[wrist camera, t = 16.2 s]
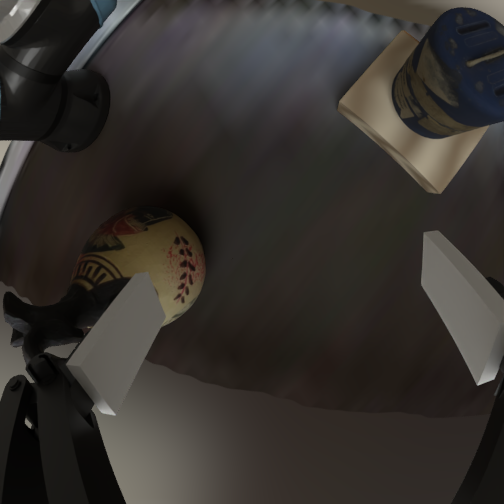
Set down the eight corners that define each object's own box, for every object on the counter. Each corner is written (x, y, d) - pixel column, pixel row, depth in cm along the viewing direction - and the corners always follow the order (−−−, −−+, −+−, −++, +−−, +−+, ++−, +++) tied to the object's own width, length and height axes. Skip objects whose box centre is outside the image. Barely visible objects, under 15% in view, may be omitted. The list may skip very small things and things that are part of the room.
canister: (377, 71, 29) (417, -9, 12) (444, 64, 27) (512, 2, 10) (402, 146, 31) (472, 119, 14) (467, 136, 28) (559, 114, 11)
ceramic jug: (126, 284, 49) (-16, 370, 20) (137, 192, 45) (-41, 222, 16) (220, 317, 46) (109, 464, 18) (241, 217, 42) (92, 295, 13)
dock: (337, 110, 36) (339, 101, 31) (395, 43, 32) (403, 28, 27) (427, 192, 36) (440, 193, 31) (479, 121, 31) (495, 115, 26)
